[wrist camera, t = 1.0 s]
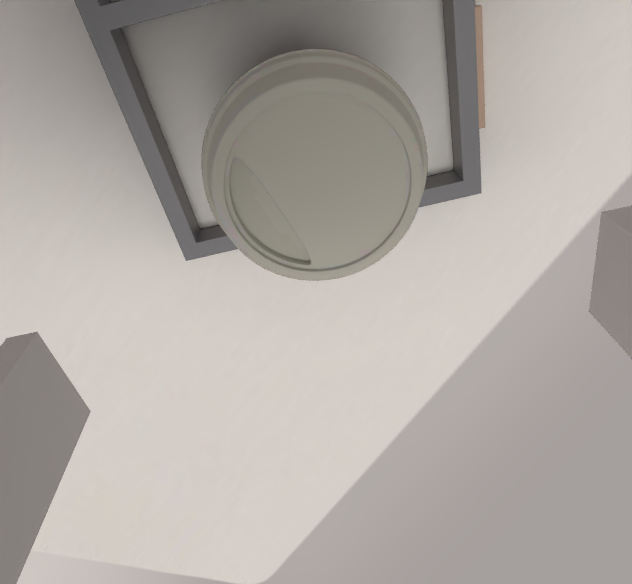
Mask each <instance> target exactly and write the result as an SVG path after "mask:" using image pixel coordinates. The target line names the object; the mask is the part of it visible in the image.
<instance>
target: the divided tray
mask: <svg viewBox="0 0 632 584" xmlns="http://www.w3.org/2000/svg"><path fill="white" fill-rule="evenodd" d="M74 1H75V3H76V5H77V8H78V10H79V12H80V15H81V17H82V19H83V22H84V24H85V26H86V29H87V31H88V33H89V36H90V38H91V40H92V43H93V45H94V47H95V50H96V52H97V54H98V57H99V59H100V61H101V64H102V66H103V68H104V71H105V73H106V75H107V78H108V80H109V82H110V85H111V87H112V89H113V92H114V94H115V96H116V99H117V101H118V103H119V106H120V108H121V110H122V113H123V115H124V117H125V120H126V122H127V124H128V127H129V129H130V131H131V134H132V136H133V138H134V141H135V143H136V145H137V148H138V150H139V152H140V155H141V157H142V159H143V162H144V164H145V166H146V168H147V171H148V173H149V175H150V178H151V180H152V182H153V185H154V187H155V189H156V192H157V194H158V196H159V199H160V201H161V203H162V206H163V208H164V210H165V213H166V215H167V217H168V220H169V222H170V224H171V227H172V229H173V231H174V234H175V236H176V238H177V241H178V243H179V245H180V248H181V250H182V252H183V255H184V257H185V259H186V261H188V260H192V259H196V258H201V257H205V256H209V255H214V254H218V253H222V252H227V251H231V250H235V249H238V248H237V247H236V246H235V244H234V243H233V242H232V241H231V240H230V238H229V237H228V236H227V234H226V233H225V232H224V231H223V229H222V228H221V226H220V225H218V226H214V227H209V228H205V229H201V230H200V228H199V225H198V223H197V220H196V218H195V215H194V213H193V210H192V208H191V205H190V203H189V200H188V197H187V195H186V192H185V190H184V187H183V185H182V182H181V180H180V177H179V175H178V172H177V170H176V167H175V164H174V162H173V159H172V157H171V154H170V152H169V149H168V147H167V144H166V142H165V139H164V137H163V134H162V132H161V129H160V126H159V124H158V121H157V119H156V116H155V114H154V111H153V109H152V106H151V104H150V101H149V99H148V96H147V93H146V91H145V88H144V86H143V83H142V81H141V78H140V76H139V73H138V71H137V68H136V66H135V63H134V61H133V58H132V55H131V53H130V50H129V48H128V45H127V43H126V40H125V38H124V35H123V33H122V30H121V27H125V26H129V25H132V24H136V23H140V22H144V21H148V20H151V19H155V18H159V17H163V16H166V15H170V14H174V13H178V12H181V11H185V10H189V9H193V8H196V7H200V6H204V5H208V4H211V3H215V2H219V1H223V0H122V1H118V2H115V3H111V2H110V0H74ZM443 12H444V27H445V42H446V57H447V72H448V87H449V102H450V117H451V131H452V146H453V161H454V170H453V171H449V172H445V173H440V174H436V175H432V176H428V177H427V178H426V184H425V188H424V192H423V195H422V198H421V201H420V204H419V207H423V206H427V205H431V204H436V203H440V202H445V201H449V200H453V199H458V198H462V197H466V196H471V195H475V194H479V193H481V168H480V140H479V129H480V128H484V127H485V104H484V70H483V35H482V6H480V5H475V0H443Z"/></svg>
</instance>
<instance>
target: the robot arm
mask: <svg viewBox="0 0 632 584" xmlns="http://www.w3.org/2000/svg"><path fill="white" fill-rule="evenodd" d="M589 312H590V313H591V314H592V315H593V317H594V318H595V319H596V320H597V321H598V322H599V323H600V324H601V325H602V326H603V327H604V329H605V330H606V331H607V332H608V333H609V334H610V335H611V336H612V338H613V339H614V340H615V341H616V342H617V343H618V344H619V345H620V346H621V347H622V348H623V350H624V351H625V352H626V353H627V354H628V355H629V356H630V357H631V358H632V206H628V207H623V208H619V209H614V210H609V211H604V212H601V219H600V227H599V237H598V243H597V252H596V260H595V268H594V276H593V284H592V292H591V300H590V308H589ZM89 414H90V410H89V408H88V407H87V405H86V404H85V402H84V401H83V399H82V398H81V396H80V395H79V393H78V392H77V390H76V389H75V387H74V386H73V384H72V383H71V381H70V380H69V378H68V377H67V376H66V374H65V373H64V371H63V370H62V368H61V367H60V365H59V364H58V362H57V361H56V359H55V358H54V356H53V355H52V353H51V352H50V350H49V349H48V347H47V346H46V344H45V343H44V341H43V340H42V338H41V337H40V335H39V334H38V332H34V333H29V334H24V335H20V336H15V337H10V338H6V340H5V341H4V342H3V344H2V345H1V346H0V584H16V583H17V580H18V578H19V576H20V574H21V571H22V569H23V567H24V564H25V562H26V559H27V557H28V555H29V553H30V550H31V548H32V546H33V544H34V541H35V539H36V537H37V534H38V532H39V530H40V527H41V525H42V523H43V520H44V518H45V516H46V513H47V511H48V509H49V506H50V504H51V502H52V499H53V497H54V495H55V492H56V490H57V488H58V486H59V483H60V481H61V479H62V476H63V474H64V472H65V469H66V467H67V465H68V462H69V460H70V458H71V455H72V453H73V451H74V448H75V446H76V444H77V441H78V439H79V437H80V434H81V432H82V430H83V427H84V425H85V423H86V421H87V418H88V416H89Z"/></svg>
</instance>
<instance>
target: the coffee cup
mask: <svg viewBox="0 0 632 584" xmlns="http://www.w3.org/2000/svg"><path fill="white" fill-rule="evenodd" d="M427 167H428V160H427V148H426V142H425V137H424V132H423V128H422V125H421V122H420V119H419V117H418V114H417V112H416V110H415V108H414V106H413V104H412V102H411V101H410V99H409V98H408V96H407V95H406V93H405V92H404V91H403V90H402V88H401V87H400V86H399V85H398V84H397V83H396V82H395V81H394V80H393V79H392V78H391V77H390V76H389V75H388V74H386V73H385V72H384V71H383V70H381V69H380V68H378V67H377V66H375V65H373V64H372V63H370V62H368V61H366V60H364V59H362V58H359V57H357V56H354V55H351V54H348V53H344V52H340V51H335V50H328V49H305V50H297V51H292V52H288V53H284V54H281V55H278V56H275V57H272V58H270V59H268V60H266V61H264V62H262V63H260V64H258V65H257V66H255V67H253V68H252V69H250V70H249V71H248V72H246V73H245V74H244V75H242V76H241V77H240V78H239V79H238V80H237V81H236V82H235V83H234V84H233V85H232V86H231V87H230V88H229V89H228V90H227V92H226V93H225V94H224V95H223V97H222V98H221V100H220V101H219V103H218V104H217V106H216V108H215V110H214V112H213V114H212V116H211V118H210V120H209V123H208V126H207V129H206V132H205V136H204V141H203V147H202V175H203V182H204V188H205V193H206V196H207V200H208V203H209V205H210V208H211V210H212V212H213V214H214V216H215V218H216V220H217V222H218V223H219V225H220V226H221V228H222V229H223V231H224V232H225V233H226V234H227V236H228V237H229V238H230V240H231V241H232V242H233V243H234V244H235V246H236V247H237V248H238V249H239V250H240V251H241V252H242V253H243V254H244V255H245V256H247V257H248V258H249V259H251V260H252V261H253V262H255V263H256V264H258V265H260V266H261V267H263V268H265V269H267V270H269V271H271V272H273V273H276V274H279V275H282V276H285V277H288V278H294V279H299V280H309V281H320V280H331V279H336V278H341V277H345V276H348V275H351V274H354V273H356V272H359V271H361V270H363V269H365V268H367V267H369V266H371V265H372V264H374V263H375V262H377V261H379V260H380V259H381V258H382V257H384V256H385V255H386V254H388V253H389V252H390V251H391V250H392V249H393V248H394V247H395V246H396V245H397V244H398V242H399V241H400V240H401V239H402V238H403V236H404V235H405V233H406V232H407V230H408V229H409V227H410V225H411V223H412V221H413V220H414V218H415V215H416V213H417V210H418V207H419V204H420V201H421V198H422V195H423V192H424V188H425V184H426V178H427Z"/></svg>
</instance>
